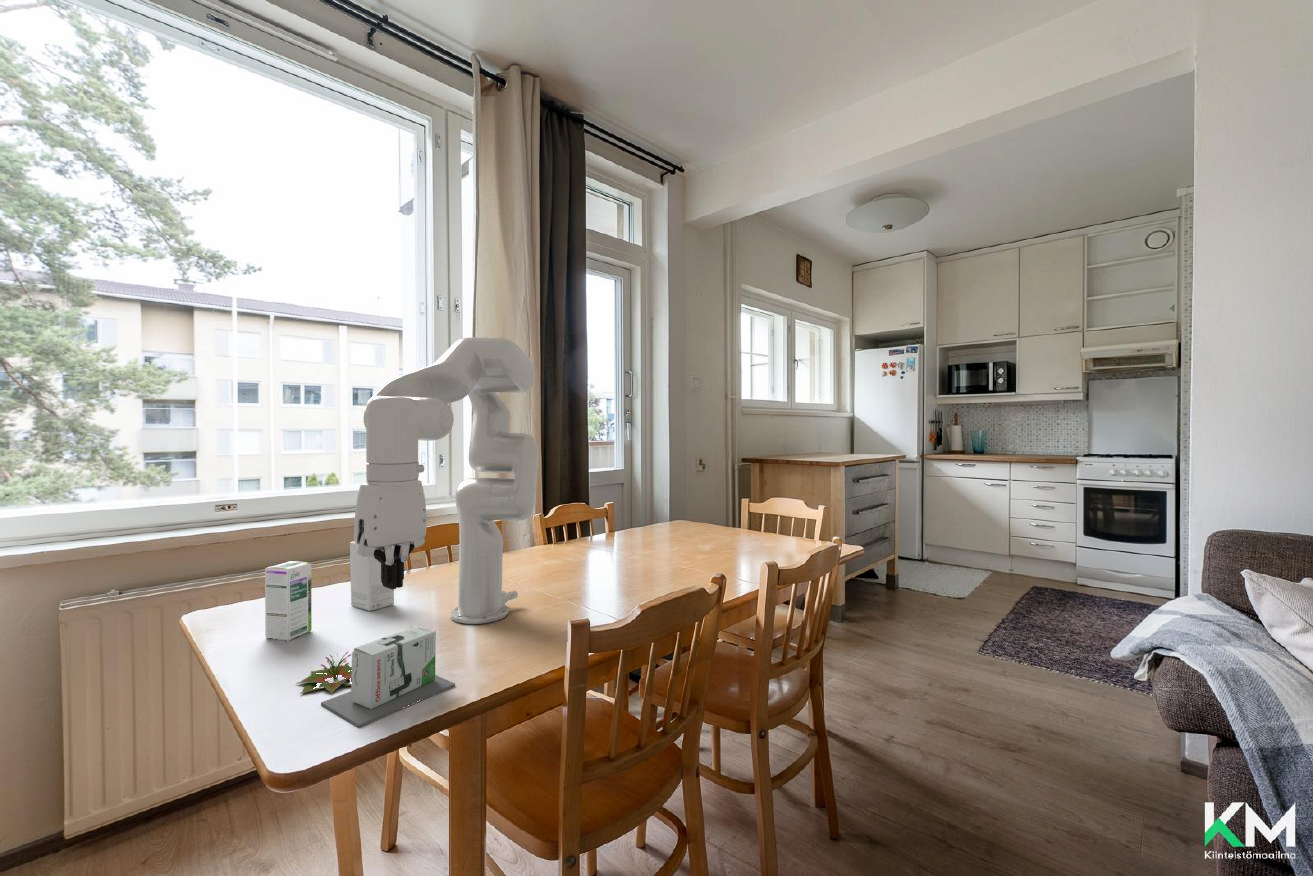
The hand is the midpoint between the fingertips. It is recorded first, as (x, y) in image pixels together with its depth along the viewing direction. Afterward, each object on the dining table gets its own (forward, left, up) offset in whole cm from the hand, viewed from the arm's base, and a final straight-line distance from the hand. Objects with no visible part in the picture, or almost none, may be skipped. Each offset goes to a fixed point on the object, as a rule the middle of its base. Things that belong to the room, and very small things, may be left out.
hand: (392, 586), depth 89 cm
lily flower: (+3, -12, -18) cm, 22 cm away
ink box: (-6, 0, -13) cm, 14 cm away
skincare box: (-22, -45, -18) cm, 53 cm away
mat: (0, +1, -17) cm, 17 cm away
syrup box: (-2, -40, -18) cm, 43 cm away
